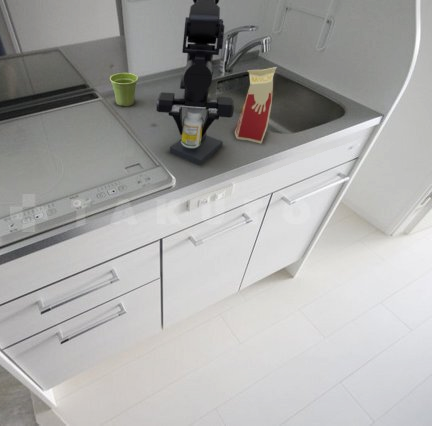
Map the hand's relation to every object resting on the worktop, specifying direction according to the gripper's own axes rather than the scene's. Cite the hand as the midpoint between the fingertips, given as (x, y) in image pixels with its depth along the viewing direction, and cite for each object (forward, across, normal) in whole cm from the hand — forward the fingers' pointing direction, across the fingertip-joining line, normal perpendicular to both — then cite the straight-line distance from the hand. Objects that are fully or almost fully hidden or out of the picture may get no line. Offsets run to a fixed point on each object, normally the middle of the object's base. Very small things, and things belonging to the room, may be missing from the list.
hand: (191, 135), depth 81 cm
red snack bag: (+6, -18, -13) cm, 23 cm away
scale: (+6, -2, -2) cm, 6 cm away
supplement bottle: (+3, 0, 0) cm, 3 cm away
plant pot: (+6, +25, -28) cm, 38 cm away
